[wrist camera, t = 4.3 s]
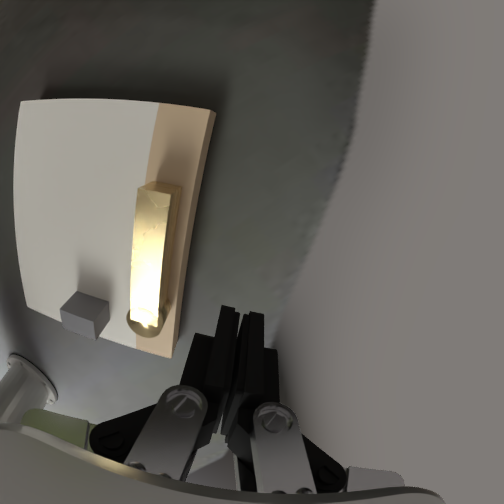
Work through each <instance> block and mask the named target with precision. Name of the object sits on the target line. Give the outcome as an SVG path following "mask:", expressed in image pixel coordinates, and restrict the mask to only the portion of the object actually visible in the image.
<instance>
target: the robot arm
mask: <svg viewBox="0 0 504 504" xmlns="http://www.w3.org/2000/svg"><path fill="white" fill-rule="evenodd" d="M239 317H240V313H239V312H235V308H233V307H228V306H224V305H222V306H221V310H220V315H219V319H218V324H217V328H216V333H215V337H211V336H207V335H203V334H199V333H195V335H194V338H193V341H192V344H191V348H190V351H189V354H188V358H187V361H186V364H185V368H184V371H183V374H182V378H181V381H180V384H179V385H176V386H172V387H170V388H168V389H166V390H165V392H164V393H163V394H162V395H161V397H160V399H159V401H158V403H157V404H154V405H151V406H149V407H146V408H143V409H141V410H138V411H135V412H132V413H129V414H126V415H124V416H121V417H118V418H115V419H112V420H109V421H105V422H102V423H100V424H98V425H96V424H91V423H89V422H88V421H87V420H82V419H78V418H73V417H69V416H65V415H61V414H57V413H54V412H50V411H46V410H43V408H44V407H45V405H46V404H49V405H53V404H55V402H56V401H57V393H56V391H55V389H54V387H53V386H52V384H51V383H50V381H49V380H48V379H47V378H46V377H45V376H44V375H43V374H42V373H41V372H40V371H39V370H38V369H37V368H36V367H35V366H34V365H33V364H31V363H30V362H29V361H27V360H26V359H24V358H22V357H20V356H18V355H10V356H9V357H8V359H7V366H8V369H9V370H8V372H7V373H6V374H5V376H4V377H3V378H2V380H1V381H0V504H446V503H445V502H444V500H443V499H442V497H440V495H439V494H437V493H435V492H433V491H430V490H427V489H423V488H419V487H409V486H405V484H404V480H403V478H402V477H401V475H399V474H398V473H396V472H392V471H384V470H374V469H366V468H358V467H352V466H349V467H348V468H343V467H342V466H341V465H340V464H339V463H338V462H336V461H335V460H334V459H333V458H331V457H330V456H329V455H327V454H326V453H325V452H324V451H322V450H321V449H320V448H319V447H317V446H316V445H315V444H314V443H312V442H311V441H310V440H309V439H307V438H306V437H305V436H304V435H303V434H302V433H301V431H300V427H299V423H298V419H297V417H296V415H295V413H294V412H293V411H292V410H291V409H290V408H289V407H287V406H286V405H284V404H281V403H280V399H279V374H278V354H277V350H276V349H270V348H264V314H261V313H256V312H251V311H250V313H249V315H248V314H244V315H243V319H242V322H241V326H240V329H239V333H238V325H239ZM237 333H238V337H237ZM222 414H223V419H222V426H221V435H226V437H225V443H228V445H227V447H228V448H229V449H230V450H231V451H232V452H233V453H234V467H235V476H236V486H237V491H236V490H228V489H221V488H215V487H209V486H203V485H198V484H192V483H188V482H186V479H187V477H188V474H189V471H190V469H191V466H192V464H193V461H194V459H195V456H196V453H197V451H198V449H199V448H201V447H203V446H205V445H207V444H209V443H210V439H211V436H212V433H217V430H218V426H219V423H220V420H221V417H222Z"/></svg>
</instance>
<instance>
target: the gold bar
mask: <svg viewBox="0 0 504 504" xmlns="http://www.w3.org/2000/svg"><path fill="white" fill-rule="evenodd" d="M181 192H182V186H178V185H173V184H168V183H163V182H157V181H151V182H149V183H147V184H145V185H143V186H141V187H139V188H138V190H137V198H136V207H135V218H134V229H133V243H132V260H131V295H130V310H129V311H128V313H127V316H126V320H127V323H128V325H129V327H130V328H131V330H132V331H133V332H135V333H136V334H137V335H139V336H141V337H145V338H154V337H156V336H158V335H159V334H160V332H161V330H162V328H163V326H164V324H165V321H166V319H167V317H168V315H169V313H170V310H171V304H170V301H169V299H168V288H169V278H170V269H171V261H172V253H173V245H174V238H175V231H176V224H177V217H178V211H179V204H180V198H181Z"/></svg>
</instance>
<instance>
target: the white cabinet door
mask: <svg viewBox="0 0 504 504" xmlns="http://www.w3.org/2000/svg"><path fill="white" fill-rule="evenodd" d="M215 117H216V113H215V112H213V111H212V110H208V109H202V108H195V107H189V106H181V105H174V104H165V103H156V102H146V101H133V100H117V99H46V100H31V101H21V104H20V110H19V116H18V124H17V132H16V142H15V155H14V182H13V192H14V220H15V233H16V243H17V252H18V260H19V266H20V273H21V279H22V284H23V289H24V294H25V299H26V303H27V307H29V308H31V309H33V310H35V311H37V312H40V313H42V314H44V315H46V316H49V317H51V318H53V319H56V320H58V321H60V322H62V326H63V328H64V329H66V330H69V331H71V332H74V333H76V334H79V335H81V336H84V337H87V338H89V339H92V340H95V341H96V340H97V338H98V337H102V338H105V339H108V340H111V341H114V342H117V343H120V344H123V345H126V346H129V347H132V348H136V349H139V350H142V351H146V352H149V353H153V354H156V355H160V356H163V357H167V358H172V355H173V352H174V350H175V347H176V344H177V341H178V332H179V323H180V315H181V306H182V298H183V291H184V283H185V276H186V269H187V262H188V256H189V249H190V243H191V237H192V231H193V225H194V219H195V214H196V208H197V202H198V197H199V192H200V187H201V182H202V176H203V172H204V167H205V162H206V157H207V152H208V148H209V143H210V139H211V134H212V130H213V126H214V121H215ZM151 181H157V182H163V183H168V184H173V185H178V186H182V192H181V198H180V204H179V211H178V217H177V224H176V231H175V238H174V245H173V253H172V261H171V269H170V278H169V288H168V299H169V301H170V304H171V310H170V313H169V315H168V317H167V319H166V321H165V324H164V326H163V328H162V330H161V332H160V334H159V335H158V336H156V337H154V338H145V337H141V336H139V335H137V334H136V333H135V332H133V331H132V330H131V328H130V327H129V325H128V323H127V320H126V316H127V313H128V311H129V310H130V295H131V260H132V243H133V229H134V218H135V207H136V198H137V190H138V188H139V187H141V186H143V185H145V184H147V183H149V182H151Z"/></svg>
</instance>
